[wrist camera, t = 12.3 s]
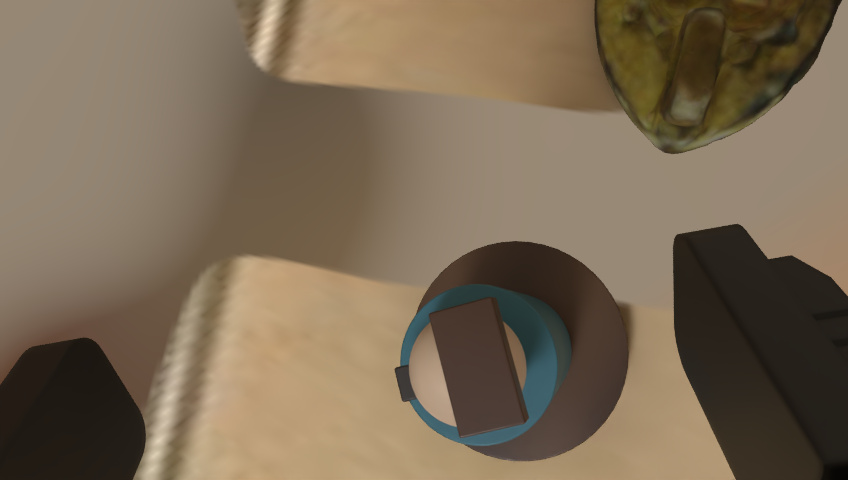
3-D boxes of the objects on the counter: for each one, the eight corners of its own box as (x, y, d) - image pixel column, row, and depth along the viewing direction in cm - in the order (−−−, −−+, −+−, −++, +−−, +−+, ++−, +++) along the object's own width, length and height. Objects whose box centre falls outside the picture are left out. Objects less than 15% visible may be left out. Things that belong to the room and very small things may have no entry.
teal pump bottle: (553, 280, 27) (520, 256, 16) (585, 391, 26) (573, 446, 15) (444, 310, 28) (343, 306, 17) (472, 418, 27) (384, 487, 16)
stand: (639, 258, 27) (641, 255, 26) (613, 473, 27) (614, 482, 25) (434, 233, 30) (426, 229, 28) (406, 431, 29) (396, 437, 28)
